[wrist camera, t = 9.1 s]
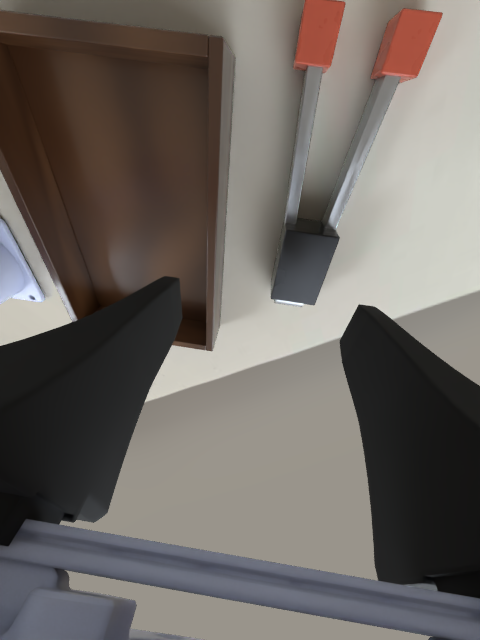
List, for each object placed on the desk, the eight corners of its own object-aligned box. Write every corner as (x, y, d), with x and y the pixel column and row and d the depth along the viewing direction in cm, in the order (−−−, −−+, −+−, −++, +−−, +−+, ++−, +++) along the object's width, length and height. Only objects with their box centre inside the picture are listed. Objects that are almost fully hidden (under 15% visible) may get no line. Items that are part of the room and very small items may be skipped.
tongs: (424, 25, 10) (463, -1, 8) (318, 301, 20) (323, 322, 18) (302, 11, 11) (309, -18, 8) (255, 292, 20) (252, 312, 18)
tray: (98, 306, 23) (76, 330, 21) (-2, 28, 12) (-82, 0, 9) (220, 325, 23) (212, 351, 20) (235, 56, 12) (223, 36, 9)
